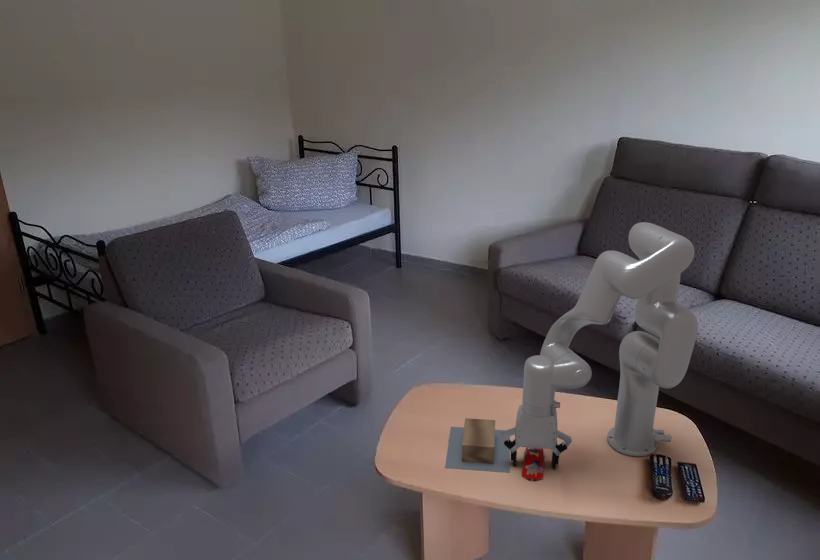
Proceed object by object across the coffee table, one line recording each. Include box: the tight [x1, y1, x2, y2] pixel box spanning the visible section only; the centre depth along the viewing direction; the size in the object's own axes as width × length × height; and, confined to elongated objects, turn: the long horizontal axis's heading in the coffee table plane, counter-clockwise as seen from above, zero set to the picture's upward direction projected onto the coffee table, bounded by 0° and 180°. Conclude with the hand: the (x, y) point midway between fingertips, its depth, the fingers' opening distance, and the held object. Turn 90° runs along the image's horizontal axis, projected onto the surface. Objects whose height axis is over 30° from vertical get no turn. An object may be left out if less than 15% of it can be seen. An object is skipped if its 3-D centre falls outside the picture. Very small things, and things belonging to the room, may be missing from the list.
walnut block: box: [462, 417, 496, 464], centre depth 173 cm, size 8×12×5 cm, turn 172°
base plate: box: [444, 426, 511, 474], centre depth 174 cm, size 16×18×1 cm
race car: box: [521, 447, 545, 482], centre depth 167 cm, size 13×5×4 cm, turn 166°
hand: (533, 464), depth 168 cm, fingers open, 9 cm apart
